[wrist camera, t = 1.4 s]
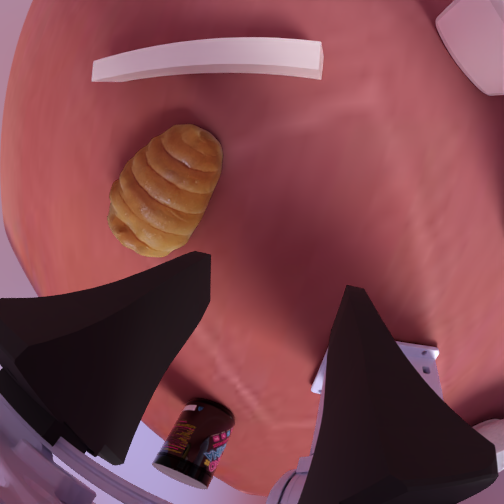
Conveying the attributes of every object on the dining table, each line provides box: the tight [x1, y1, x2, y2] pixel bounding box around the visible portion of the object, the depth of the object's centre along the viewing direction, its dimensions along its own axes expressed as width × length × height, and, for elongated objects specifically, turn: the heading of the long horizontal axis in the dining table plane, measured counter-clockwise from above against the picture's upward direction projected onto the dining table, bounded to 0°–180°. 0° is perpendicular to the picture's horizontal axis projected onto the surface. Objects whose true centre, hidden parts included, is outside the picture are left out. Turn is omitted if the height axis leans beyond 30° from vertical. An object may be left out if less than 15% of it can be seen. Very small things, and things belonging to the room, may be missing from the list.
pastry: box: [107, 124, 223, 257], centre depth 17 cm, size 9×7×4 cm
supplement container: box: [152, 398, 235, 489], centre depth 26 cm, size 7×7×10 cm
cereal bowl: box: [472, 419, 504, 472], centre depth 18 cm, size 17×17×7 cm
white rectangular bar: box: [92, 37, 324, 82], centre depth 13 cm, size 14×2×3 cm, turn 85°
